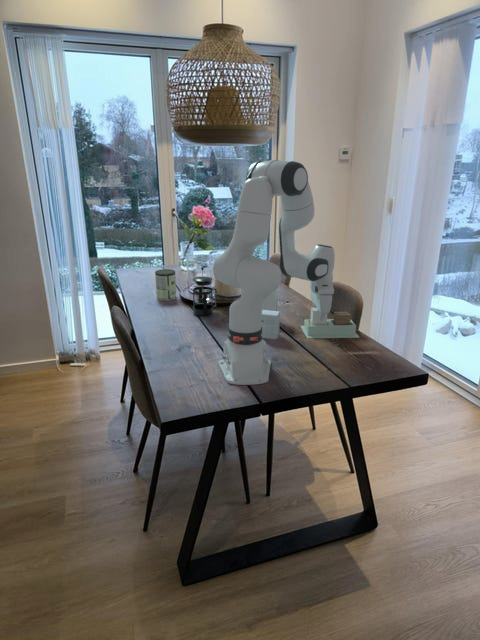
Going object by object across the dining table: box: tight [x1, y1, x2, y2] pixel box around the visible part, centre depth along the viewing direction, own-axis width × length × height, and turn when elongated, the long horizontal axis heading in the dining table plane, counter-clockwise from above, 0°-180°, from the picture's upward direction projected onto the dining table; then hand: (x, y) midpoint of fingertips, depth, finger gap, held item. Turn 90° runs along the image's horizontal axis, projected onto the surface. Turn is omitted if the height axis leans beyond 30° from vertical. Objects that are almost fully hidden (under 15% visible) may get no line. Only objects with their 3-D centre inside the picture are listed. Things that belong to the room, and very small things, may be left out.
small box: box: [261, 310, 281, 340], centre depth 180 cm, size 8×6×10 cm
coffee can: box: [154, 268, 177, 302], centre depth 226 cm, size 10×10×14 cm
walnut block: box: [333, 311, 352, 325], centre depth 184 cm, size 4×6×8 cm, turn 94°
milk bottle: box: [262, 290, 278, 311], centre depth 195 cm, size 8×8×20 cm
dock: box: [300, 318, 361, 339], centre depth 184 cm, size 14×22×5 cm, turn 94°
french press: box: [192, 264, 218, 318], centre depth 203 cm, size 12×9×23 cm
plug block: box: [310, 307, 328, 325], centre depth 182 cm, size 4×6×10 cm, turn 94°
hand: (318, 316), depth 182 cm, fingers open, 8 cm apart
